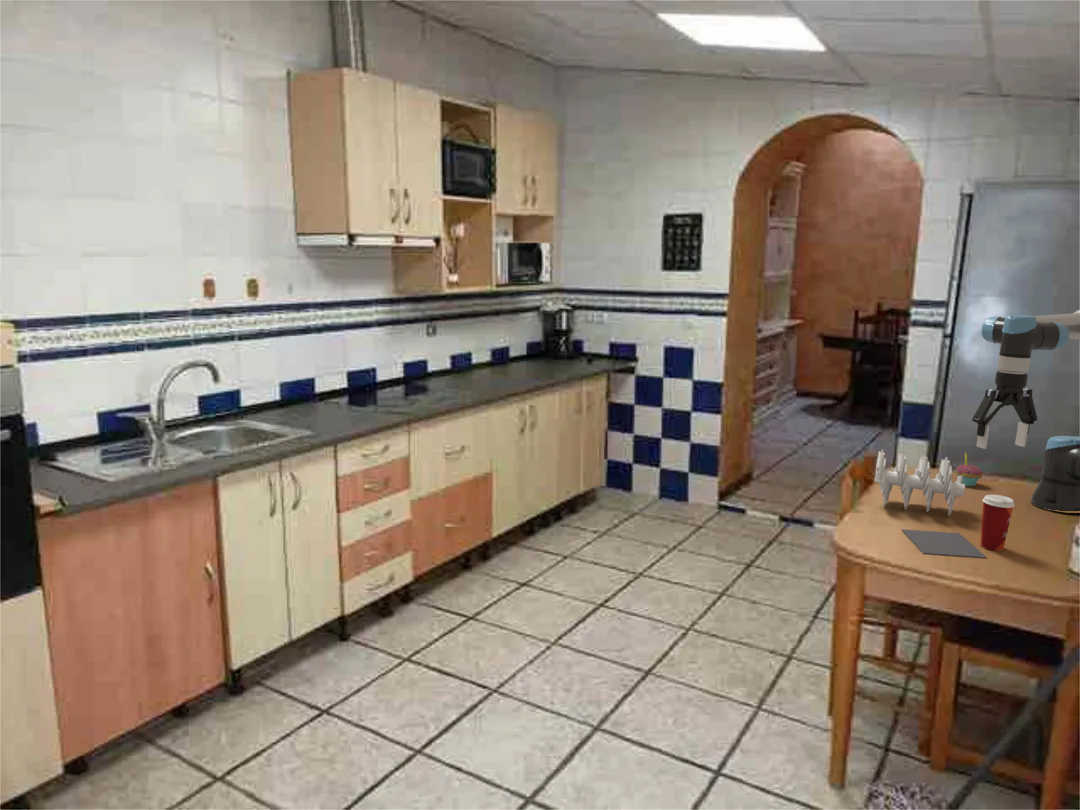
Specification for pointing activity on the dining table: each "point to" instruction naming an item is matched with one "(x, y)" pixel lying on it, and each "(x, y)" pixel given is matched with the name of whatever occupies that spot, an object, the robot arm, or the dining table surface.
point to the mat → (943, 543)
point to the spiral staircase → (919, 481)
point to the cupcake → (969, 473)
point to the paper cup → (995, 521)
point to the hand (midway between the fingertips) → (1000, 446)
